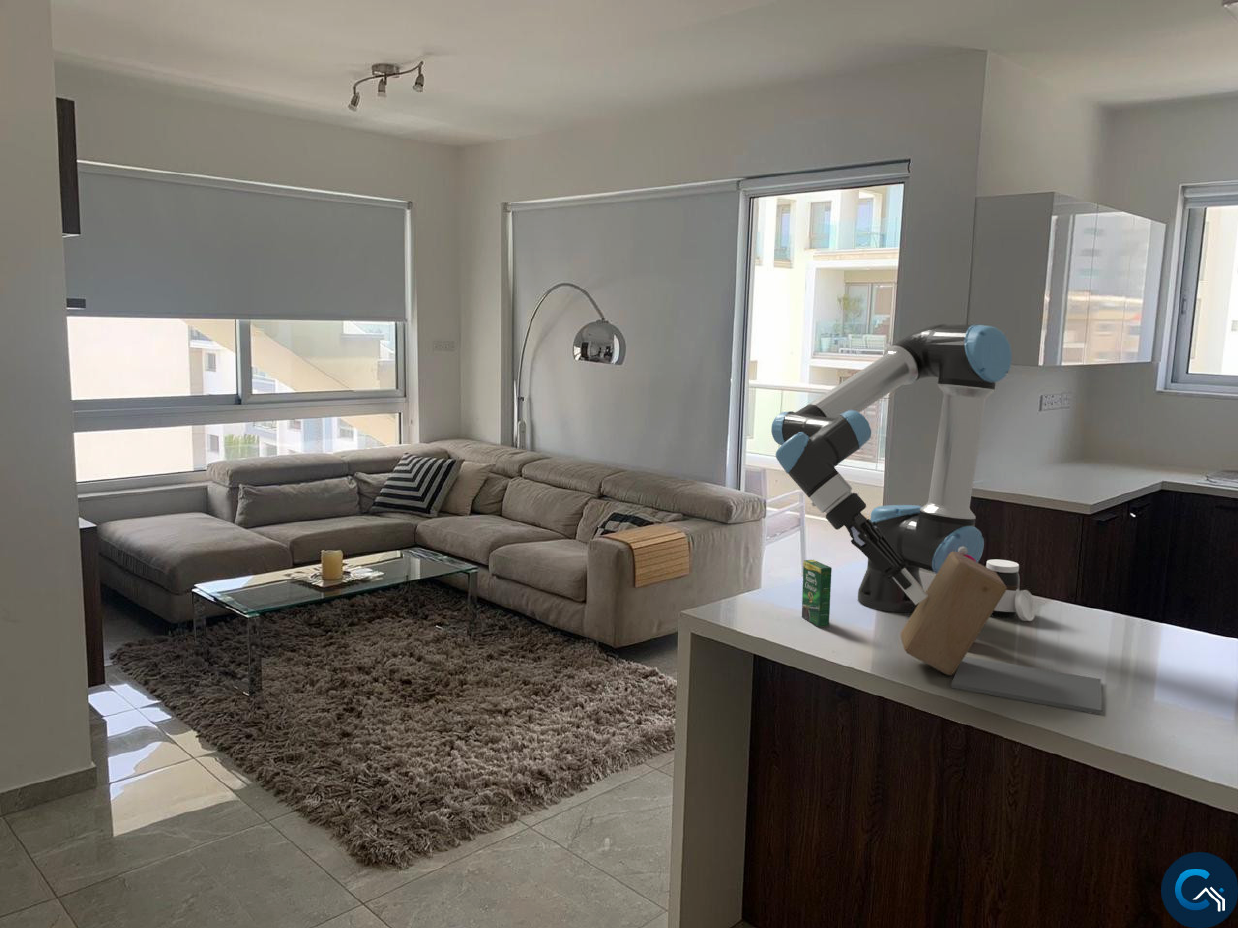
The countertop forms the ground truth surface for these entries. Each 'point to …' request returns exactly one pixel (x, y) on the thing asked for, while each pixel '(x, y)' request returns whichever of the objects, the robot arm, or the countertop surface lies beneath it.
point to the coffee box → (816, 592)
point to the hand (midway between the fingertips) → (921, 599)
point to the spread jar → (1012, 592)
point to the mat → (1029, 684)
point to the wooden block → (952, 613)
